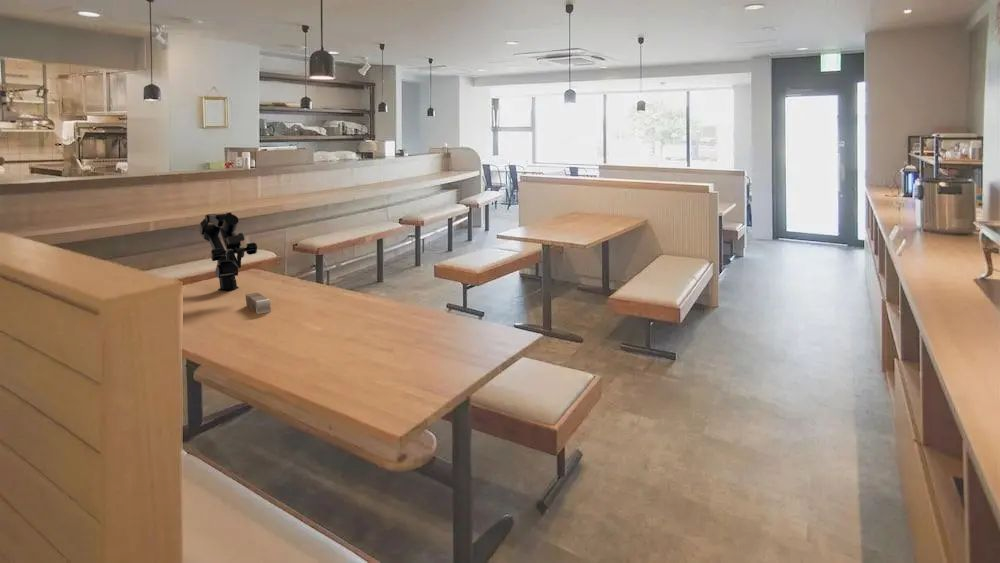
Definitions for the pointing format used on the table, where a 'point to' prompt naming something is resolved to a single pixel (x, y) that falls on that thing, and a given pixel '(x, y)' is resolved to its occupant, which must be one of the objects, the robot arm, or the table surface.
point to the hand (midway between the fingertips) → (239, 267)
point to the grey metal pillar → (258, 303)
